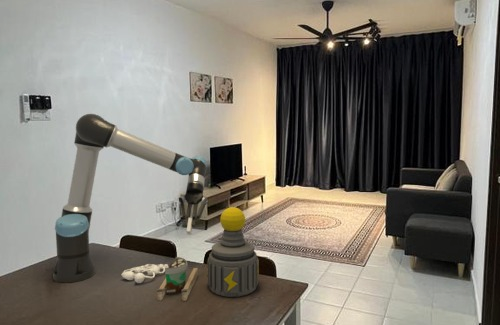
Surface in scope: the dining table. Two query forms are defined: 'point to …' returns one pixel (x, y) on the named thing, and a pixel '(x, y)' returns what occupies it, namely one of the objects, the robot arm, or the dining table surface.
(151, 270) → the tangled rod sculpture
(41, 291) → the dining table surface
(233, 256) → the decorative lamp
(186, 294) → the birch chute
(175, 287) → the food container
